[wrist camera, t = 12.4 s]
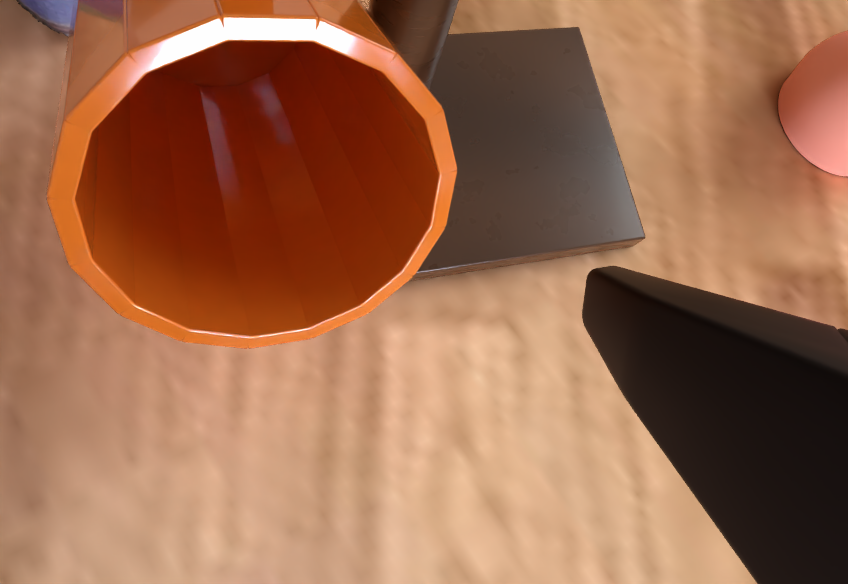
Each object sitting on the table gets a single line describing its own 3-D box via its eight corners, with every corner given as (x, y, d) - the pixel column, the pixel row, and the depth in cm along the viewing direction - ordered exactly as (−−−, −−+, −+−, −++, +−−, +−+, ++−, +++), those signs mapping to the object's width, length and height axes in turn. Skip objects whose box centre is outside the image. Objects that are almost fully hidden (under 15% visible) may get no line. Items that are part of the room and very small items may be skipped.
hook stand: (634, 246, 25) (1079, -49, 11) (183, 316, 21) (-88, -14, 6) (569, 41, 27) (864, -431, 13) (153, 67, 23) (-96, -586, 9)
